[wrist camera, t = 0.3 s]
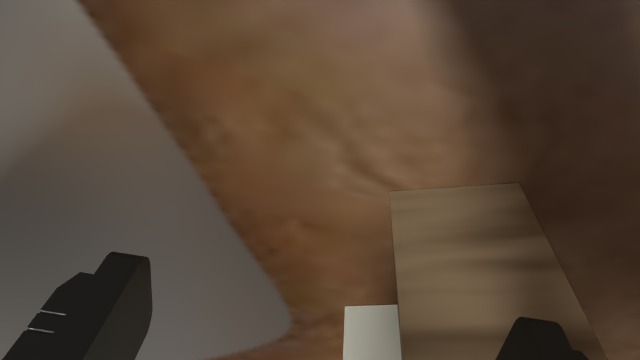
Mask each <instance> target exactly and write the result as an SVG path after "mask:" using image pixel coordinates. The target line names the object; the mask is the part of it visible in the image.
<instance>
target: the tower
mask: <svg viewBox="0 0 640 360" xmlns="http://www.w3.org/2000/svg"><path fill="white" fill-rule="evenodd" d="M389 197H390V212H391V227H392V241H393V256H394V270H395V285H396V297H397V309H398V321H399V333H400V345H401V358H402V360H495V359H496V357H497V356H498V354H499V352H500V350H501V348H502V346H503V344H504V342H505V340H506V338H507V336H508V334H509V332H510V330H511V328H512V326H513V324H514V322H515V320H516V319H517V318H519V317H528V318H534V319H541V320H547V321H553V322H557V323H558V324H559V325H560V326H561V327H562V329H563V331H564V333H565V335H566V337H567V339H568V341H569V343H570V346H571V348H572V350H577V351H582V353H583V354H584V355H585V356H586V357H587V358H588V359H589V360H608V359H607V357H606V355H605V353H604V351H603V349H602V347H601V345H600V343H599V341H598V339H597V337H596V335H595V334H594V332H593V330H592V328H591V326H590V324H589V322H588V320H587V318H586V316H585V314H584V312H583V310H582V308H581V306H580V304H579V302H578V300H577V298H576V296H575V294H574V292H573V290H572V288H571V286H570V284H569V282H568V280H567V278H566V276H565V274H564V272H563V270H562V268H561V266H560V264H559V262H558V260H557V258H556V256H555V254H554V252H553V250H552V248H551V246H550V244H549V242H548V240H547V238H546V236H545V234H544V232H543V230H542V228H541V226H540V224H539V222H538V220H537V218H536V216H535V214H534V212H533V210H532V208H531V206H530V204H529V202H528V200H527V198H526V196H525V194H524V192H523V190H522V188H521V186H520V184H519V183H508V184H494V185H479V186H465V187H450V188H436V189H421V190H407V191H392V192H389Z"/></svg>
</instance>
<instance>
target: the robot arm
mask: <svg viewBox="0 0 640 360" xmlns="http://www.w3.org/2000/svg"><path fill="white" fill-rule="evenodd" d="M151 316H152V292H151V271H150V261H149V258H148V257H144V256H137V255H131V254H124V253H118V252H111V253H109V254H108V255H107V256H106V258H105V259H104V261H103V262H102V264H101V265H100V266H99V268H98V269H97V271H96V272H95V274H88V273H82V272H80V273H78V274H77V275H75V276H74V277H73V278H71V279H70V280H68V281H67V282H66V283H64V284H62V285H61V286H59V287H58V288H57V289H56V290H55V291H54V293H53V294H52V295H51V297H50V298H49V299H48V300H47V302H46V303H45V305H44V306H43V307H42V308H41V312H40V313H37V315H36V316H35V318H34V319H33V320H32V321H31V323H30V324H29V325H28V328H27V330H26V331H24V332H23V333H22V334H21V336H20V337H19V338H18V340H17V341H16V342H15V344H14V345H13V346H12V347H11V349H10V350H9V351H8V353H7V354H6V355H5V357H4V358H3V359H2V360H135V358H136V355H137V353H138V351H139V349H140V347H141V345H142V343H143V341H144V339H145V337H146V334H147V332H148V329H149V325H150V321H151ZM495 360H589V359H588V358H587V357H586V356H585V355H584V354H583V353H582V351H577V350H572V348H571V346H570V343H569V341H568V339H567V337H566V335H565V333H564V331H563V329H562V327H561V326H560V325H559V324H558V323H557V322H553V321H547V320H541V319H534V318H528V317H519V318H517V319H516V320H515V322H514V324H513V326H512V328H511V330H510V332H509V334H508V336H507V338H506V340H505V342H504V344H503V346H502V348H501V350H500V352H499V354H498V356H497V357H496V359H495Z"/></svg>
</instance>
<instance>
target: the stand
mask: <svg viewBox="0 0 640 360" xmlns="http://www.w3.org/2000/svg"><path fill="white" fill-rule="evenodd" d="M343 360H402V358H401V345H400V333H399V321H398V309H397V305H373V306H346V307H345V321H344V348H343Z"/></svg>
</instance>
